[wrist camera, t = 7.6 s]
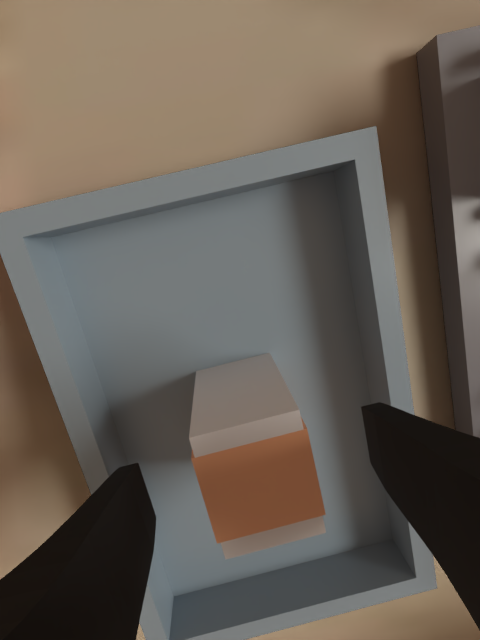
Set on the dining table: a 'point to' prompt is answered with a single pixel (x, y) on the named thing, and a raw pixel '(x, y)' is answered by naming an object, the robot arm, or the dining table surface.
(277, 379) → the fuse marked
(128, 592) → the robot arm
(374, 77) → the dining table surface
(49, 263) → the tray
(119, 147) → the dining table surface
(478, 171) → the block
